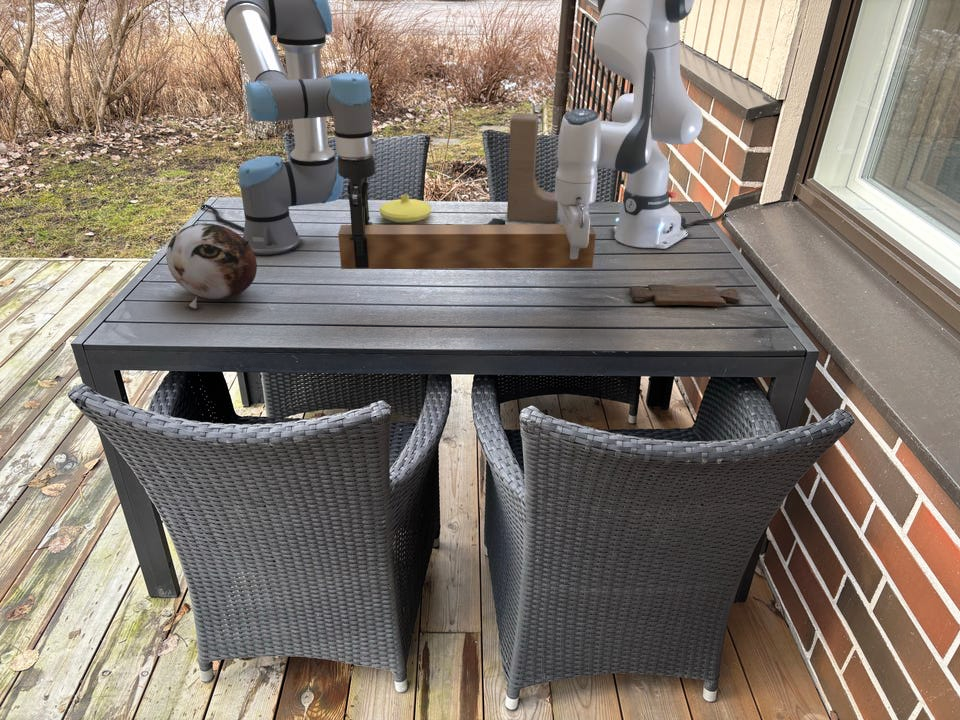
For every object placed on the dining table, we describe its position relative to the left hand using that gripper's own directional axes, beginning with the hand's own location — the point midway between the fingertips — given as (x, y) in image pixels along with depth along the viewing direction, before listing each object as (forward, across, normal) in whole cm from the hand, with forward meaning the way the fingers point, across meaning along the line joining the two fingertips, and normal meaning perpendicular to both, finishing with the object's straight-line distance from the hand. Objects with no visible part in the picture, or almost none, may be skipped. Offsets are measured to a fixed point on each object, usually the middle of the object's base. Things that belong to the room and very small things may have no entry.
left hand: (363, 261), depth 157 cm
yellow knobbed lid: (+12, +61, -6) cm, 63 cm away
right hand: (-2, 0, -46) cm, 46 cm away
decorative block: (+12, +62, -45) cm, 77 cm away
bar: (+1, 0, -23) cm, 23 cm away
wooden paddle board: (+12, +5, -75) cm, 77 cm away
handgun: (+12, +50, -27) cm, 58 cm away
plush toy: (+12, +8, +36) cm, 39 cm away
